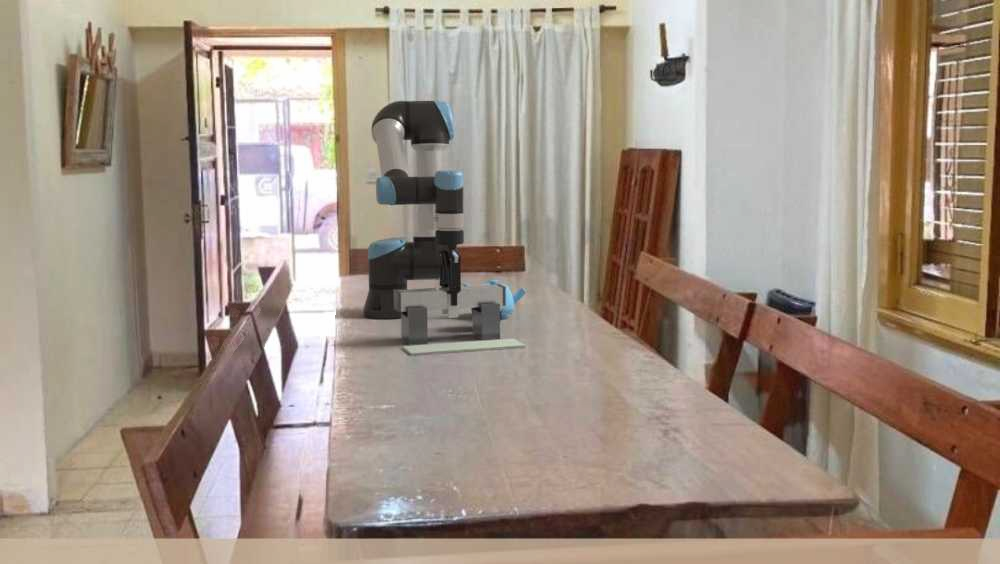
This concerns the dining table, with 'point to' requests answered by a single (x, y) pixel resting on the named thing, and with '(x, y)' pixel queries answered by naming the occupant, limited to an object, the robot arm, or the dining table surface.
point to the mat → (463, 347)
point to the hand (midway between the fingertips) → (450, 315)
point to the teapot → (507, 298)
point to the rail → (439, 297)
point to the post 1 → (414, 326)
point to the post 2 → (486, 321)
